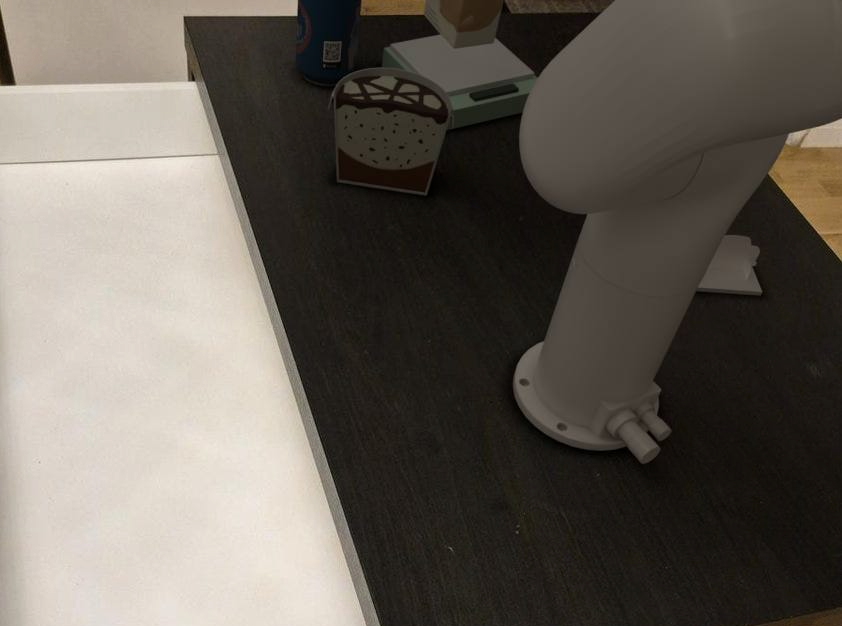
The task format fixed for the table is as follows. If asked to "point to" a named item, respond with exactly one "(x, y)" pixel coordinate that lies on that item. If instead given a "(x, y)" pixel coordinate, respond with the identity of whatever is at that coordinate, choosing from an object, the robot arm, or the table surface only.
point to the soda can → (327, 39)
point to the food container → (389, 129)
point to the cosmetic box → (465, 20)
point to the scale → (467, 76)
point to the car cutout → (732, 268)
